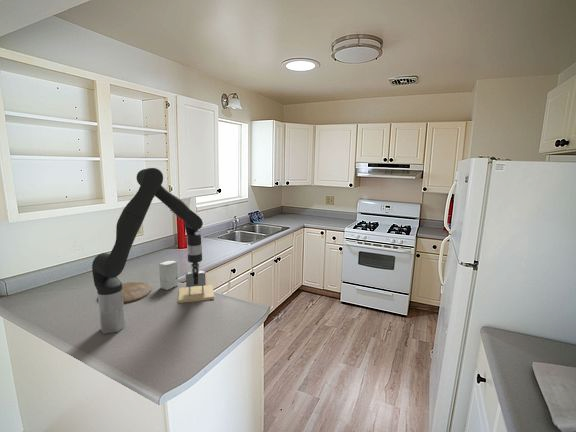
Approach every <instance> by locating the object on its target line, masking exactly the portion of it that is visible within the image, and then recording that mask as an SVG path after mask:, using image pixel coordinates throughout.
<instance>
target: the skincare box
mask: <svg viewBox="0 0 576 432" xmlns="http://www.w3.org/2000/svg"><path fill="white" fill-rule="evenodd" d="M158 266H159V285H160V287H159V288H160V289H163V290H166V291H167V290H168V291H169V290H170V289H173V288H174V287H177V286H179V278H178V277H179V276H178V275H179V274H178V261H175V260H166V261H164V262H160V263H159V265H158Z"/></svg>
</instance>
